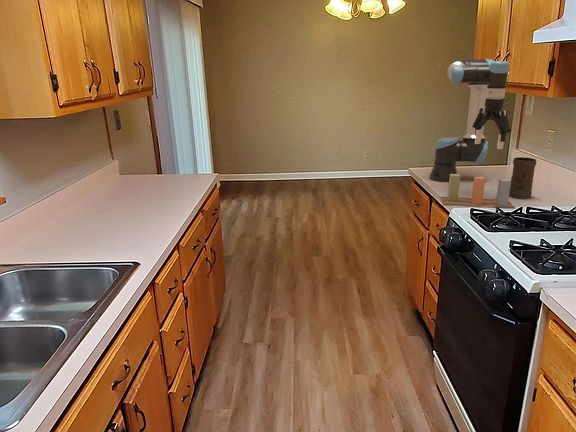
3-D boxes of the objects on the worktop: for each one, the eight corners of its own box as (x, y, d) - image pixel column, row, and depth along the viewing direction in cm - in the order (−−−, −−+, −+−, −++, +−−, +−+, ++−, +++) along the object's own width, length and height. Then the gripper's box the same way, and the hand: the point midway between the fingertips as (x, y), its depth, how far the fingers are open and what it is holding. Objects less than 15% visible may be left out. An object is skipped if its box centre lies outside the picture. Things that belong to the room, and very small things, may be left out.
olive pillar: (447, 198, 218) (449, 173, 214) (456, 198, 218) (458, 174, 214) (448, 200, 214) (451, 175, 211) (457, 201, 214) (460, 176, 210)
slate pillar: (495, 204, 208) (499, 178, 205) (504, 204, 208) (508, 179, 204) (497, 207, 205) (501, 180, 201) (507, 207, 204) (511, 181, 200)
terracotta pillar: (471, 201, 213) (474, 176, 209) (480, 202, 212) (483, 176, 208) (472, 204, 209) (476, 178, 205) (482, 204, 208) (485, 178, 205)
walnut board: (438, 199, 221) (438, 196, 221) (506, 201, 216) (507, 199, 216) (443, 208, 207) (443, 205, 207) (516, 211, 202) (516, 208, 202)
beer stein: (534, 202, 215) (540, 160, 210) (510, 201, 217) (515, 159, 212) (524, 196, 230) (530, 156, 225) (502, 195, 232) (507, 155, 227)
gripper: (468, 96, 211) (462, 142, 218) (510, 100, 189) (503, 151, 196) (480, 95, 213) (475, 141, 220) (524, 100, 191) (516, 150, 198)
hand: (488, 146), depth 208 cm, fingers open, 13 cm apart
